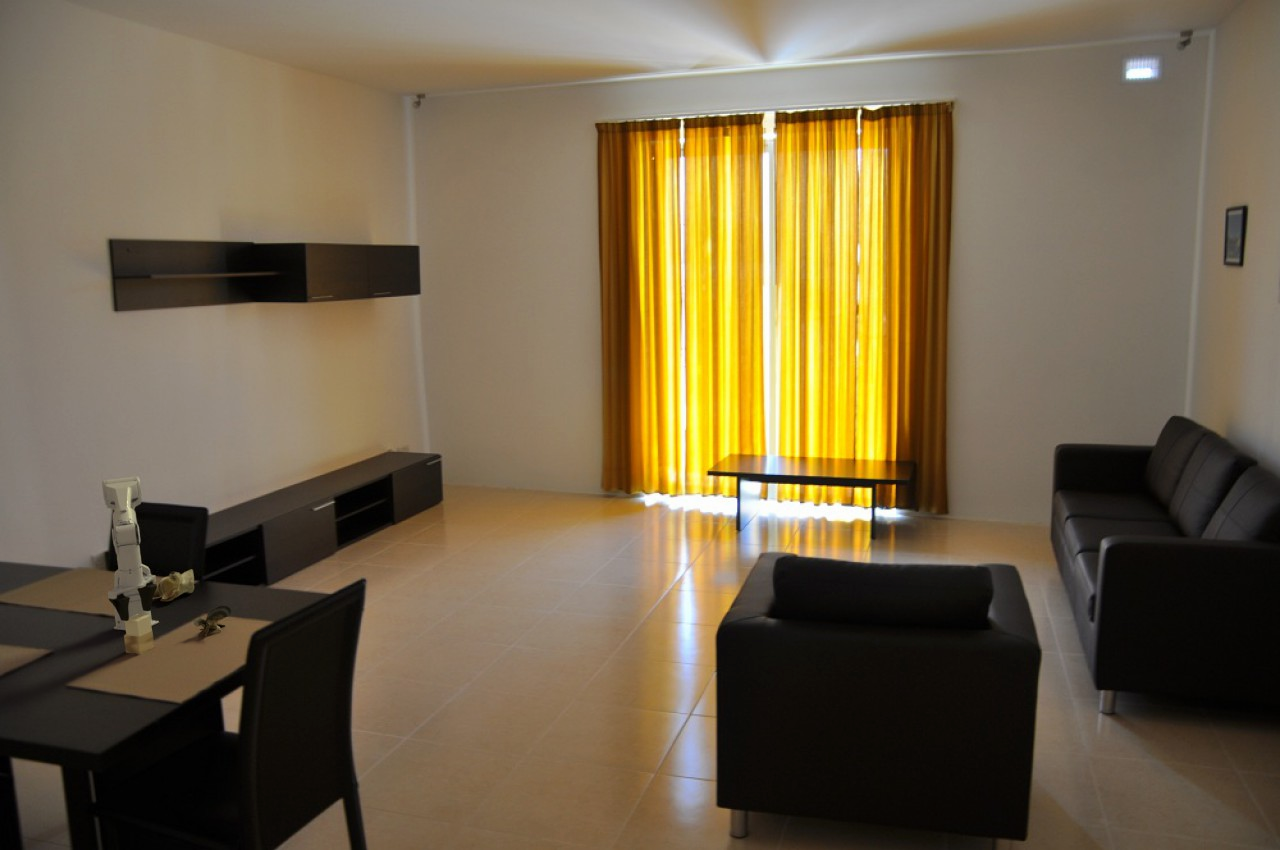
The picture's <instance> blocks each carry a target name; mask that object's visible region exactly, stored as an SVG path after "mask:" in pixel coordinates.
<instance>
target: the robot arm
mask: <svg viewBox="0 0 1280 850" xmlns="http://www.w3.org/2000/svg"><path fill="white" fill-rule="evenodd" d="M140 479H141V478H140V477H139V476H138V475H135V476H132V477H131V476H130V477H121V478H115V479H114V478H112V479H103V480H102V482H101V485H102V493H103V494H102V496H103V500H104V504H105V506H106V509H110V510H114V512H113V513H112V521H113V523H112V524H113V528H112V530H111V533H112V534H111V535H112V542H113V543H112V544H113V546H114V551H115V555H116V561H117V566H118V567H117V568H118V569H117V570H115V572H114V574H113V579H114V580H113V584H114V588H112V589H111V590H109V591H107V595H108V596H107V598H108V601H109V602H110V603H111V604H112V606H113V613H114V620H115V626H114V627H113V629H114V630H119V631H126V627H125V621H128V620H129V617H132V616H134V615H136V614H142V615H150V618H151V627H153V626H154V625H157V624H160V622H159V620H154V619H152V613H151V612H152V610H151V609H152V604H153V599H154V598H153V596H154V593H155V591H156V589H157V587H158V584H156V583H157V576H156V575H154V574H152V573H151V569H150V568H149V566H147V565H145V564H143V563H142V556H141V548H140V544H141V535H140V533H141V532H140V527H139V524H138V520H137V514H136V510H135V508H136V507H137V506H139V505H141V504H142V502H141V501H142V488H141V480H140Z"/></svg>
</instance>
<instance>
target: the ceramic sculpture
mask: <svg viewBox="0 0 1280 850" xmlns="http://www.w3.org/2000/svg"><path fill="white" fill-rule="evenodd" d="M194 582H195V576H194V569H189V570H187V571H184V572H183V573H180V572H177V571H170V572H169V575H167V576H164V577H162V578H161V579H160V580H159V582H158V584H157V589H156V591H155V593H154V596H153V599H156V598H160V597H161V598H160V601H161V602H170V601H173V600H174V599H175V598H178V597H179V596H180V595H183V594H184V593H185V594H191V593H193V592H194V590H195V585H194Z"/></svg>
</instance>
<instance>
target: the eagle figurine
mask: <svg viewBox="0 0 1280 850" xmlns="http://www.w3.org/2000/svg"><path fill="white" fill-rule="evenodd" d="M232 611H233V610H232V609H231V607H229V606H228V605H219V606H217V607H214V608H213V609H211V610H210V611H208V614H207V615H206V617H205V618H206V619H204V618H202V617H198V618H197V619H195V620H193V625H194V626H195V627H202V628H199V631H202V632H203V634H204V635H203V636H205V637H206V636H207V635H208V634H209V631H210V629H211V630H216V631H218V632H220V631H222V629H221V627H220V626H223V624H222V623H220V622H219V621H221V620H224V619H225V618H229V617H230V616H231V614H232Z"/></svg>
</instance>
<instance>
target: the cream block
mask: <svg viewBox="0 0 1280 850" xmlns="http://www.w3.org/2000/svg"><path fill="white" fill-rule="evenodd" d="M151 619H152V617H151V618H150V615H142V614H136V615H134V616H132V617H129V620H128V621H125V627H126V630H125V632H126V633H125V635H129V636H136V637H140V636H142V635H144V634H147V633H149V632H151V631H152V632H153V629H152V628H153V626H151Z"/></svg>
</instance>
